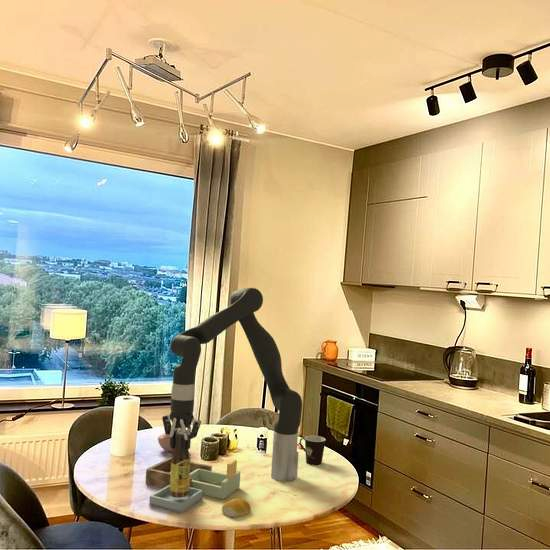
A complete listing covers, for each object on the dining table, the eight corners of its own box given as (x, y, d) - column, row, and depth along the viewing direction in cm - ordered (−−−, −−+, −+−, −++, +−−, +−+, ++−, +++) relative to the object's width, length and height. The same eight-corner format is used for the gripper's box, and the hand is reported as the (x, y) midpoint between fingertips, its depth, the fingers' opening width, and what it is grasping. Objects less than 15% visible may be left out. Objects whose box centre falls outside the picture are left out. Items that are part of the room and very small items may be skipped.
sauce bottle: (179, 500, 166) (180, 437, 166) (165, 495, 169) (166, 433, 170) (193, 493, 171) (195, 432, 172) (180, 489, 175) (181, 429, 175)
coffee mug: (327, 465, 214) (329, 441, 214) (308, 467, 211) (310, 442, 211) (315, 456, 225) (316, 433, 225) (297, 457, 222) (298, 434, 222)
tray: (202, 499, 174) (202, 490, 174) (181, 513, 162) (181, 504, 162) (171, 491, 178) (172, 483, 178) (149, 505, 167) (149, 496, 167)
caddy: (239, 487, 185) (241, 457, 186) (223, 499, 174) (225, 467, 174) (197, 477, 192) (199, 449, 192) (179, 488, 181) (181, 458, 181)
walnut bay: (211, 479, 191) (211, 466, 192) (189, 493, 178) (190, 479, 178) (169, 470, 198) (170, 457, 198) (145, 483, 184) (146, 469, 185)
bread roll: (254, 511, 167) (255, 498, 168) (237, 520, 160) (237, 507, 160) (234, 503, 172) (235, 491, 172) (216, 512, 165) (217, 499, 165)
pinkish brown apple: (161, 445, 227) (163, 419, 227) (188, 447, 227) (190, 421, 227) (153, 454, 215) (155, 426, 215) (182, 456, 215) (184, 428, 215)
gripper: (207, 397, 172) (204, 450, 171) (170, 392, 177) (167, 442, 177) (195, 402, 165) (192, 456, 164) (157, 396, 170) (154, 448, 170)
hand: (179, 449), depth 171 cm, fingers closed on sauce bottle, 4 cm apart
